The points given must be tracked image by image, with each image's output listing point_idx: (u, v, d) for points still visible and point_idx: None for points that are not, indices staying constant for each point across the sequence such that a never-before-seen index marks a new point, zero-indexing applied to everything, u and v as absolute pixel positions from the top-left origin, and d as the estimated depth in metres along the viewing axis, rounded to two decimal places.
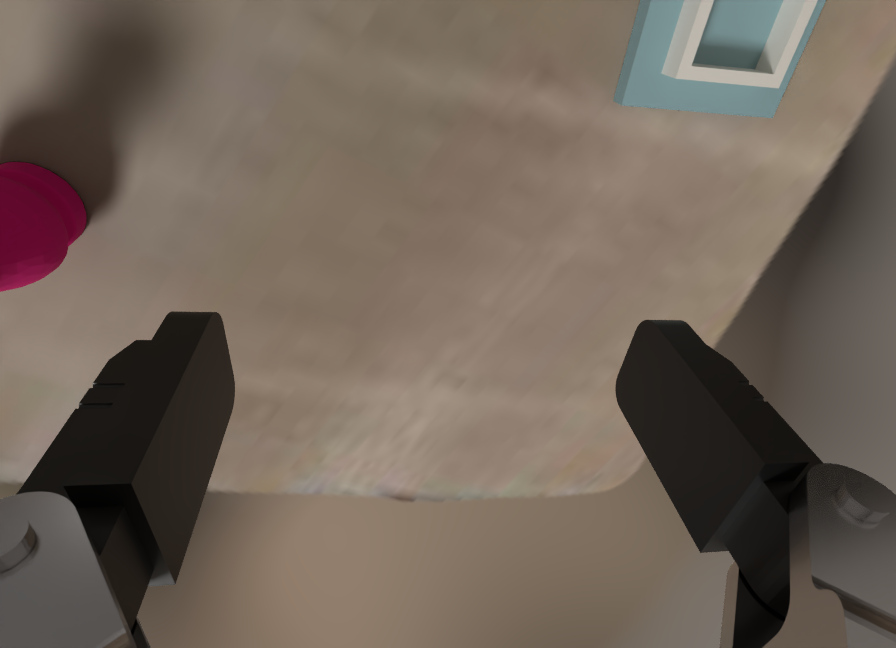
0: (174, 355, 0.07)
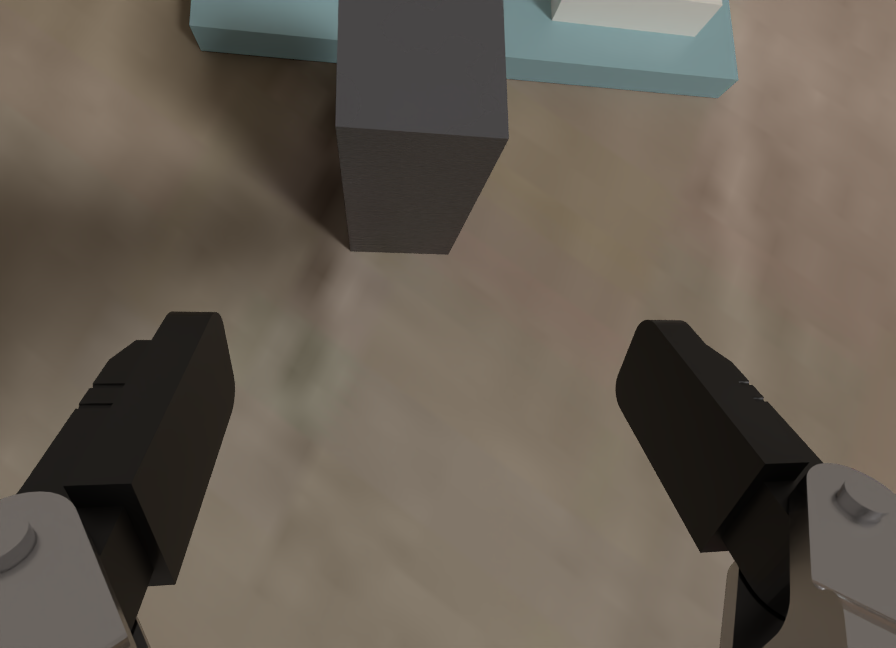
0: (174, 355, 0.07)
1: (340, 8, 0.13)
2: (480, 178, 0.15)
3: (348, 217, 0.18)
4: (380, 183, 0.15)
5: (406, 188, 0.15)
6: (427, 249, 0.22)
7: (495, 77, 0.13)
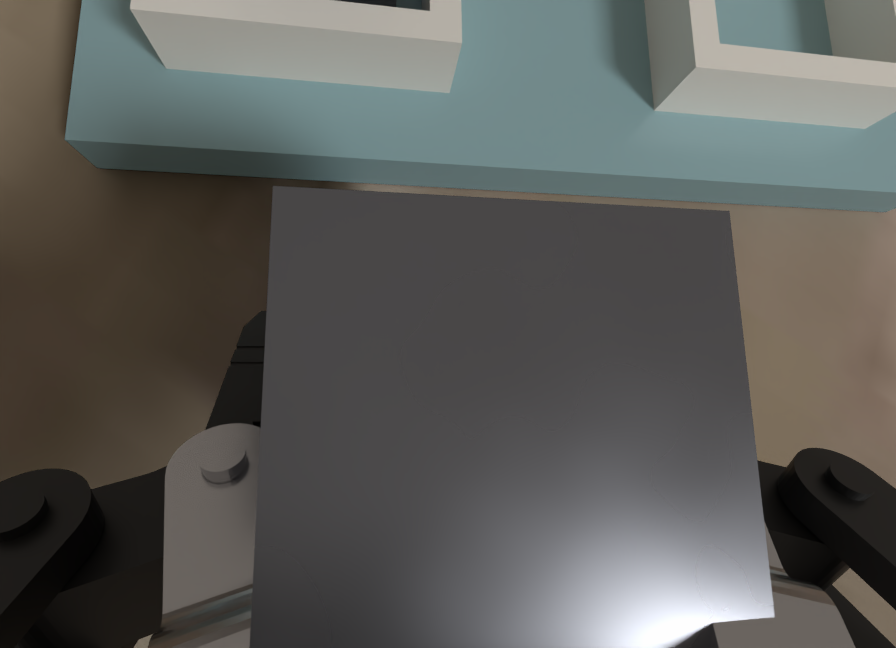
0: None
1: (273, 313, 0.04)
2: None
3: None
4: None
5: None
6: None
7: (731, 488, 0.04)
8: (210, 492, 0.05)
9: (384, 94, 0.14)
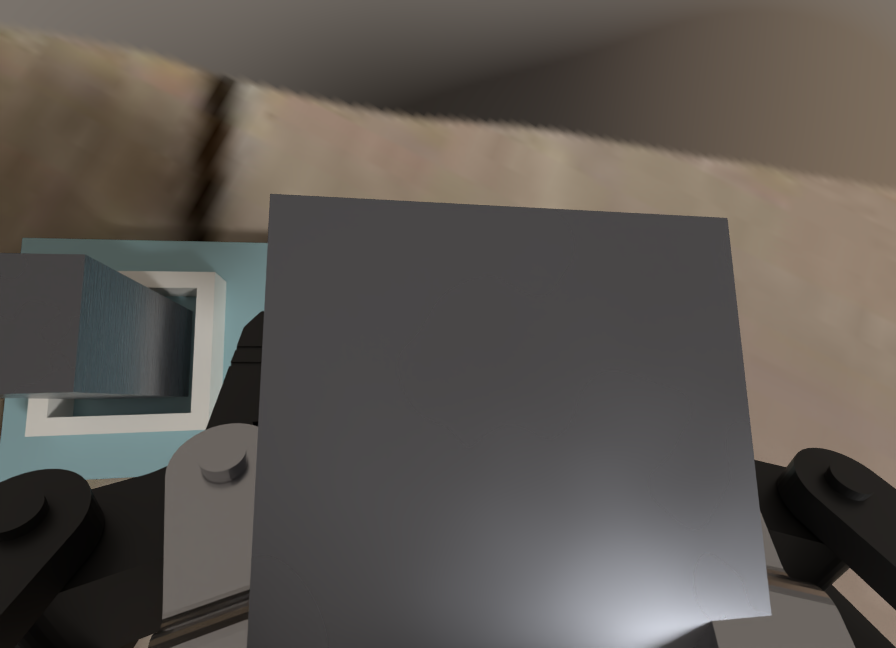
0: None
1: (270, 322, 0.04)
2: None
3: None
4: None
5: None
6: None
7: (728, 495, 0.04)
8: (210, 492, 0.05)
9: (181, 433, 0.24)
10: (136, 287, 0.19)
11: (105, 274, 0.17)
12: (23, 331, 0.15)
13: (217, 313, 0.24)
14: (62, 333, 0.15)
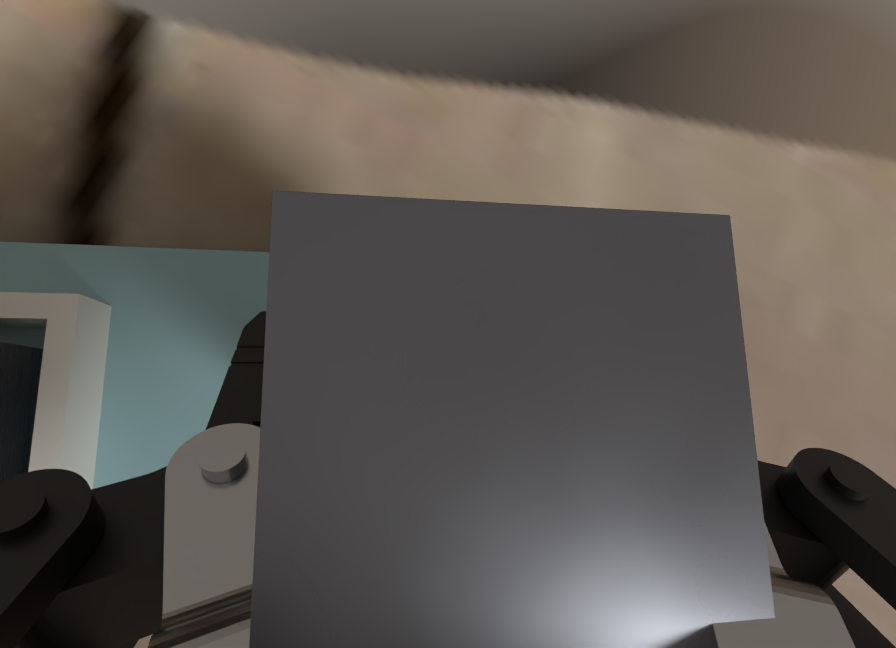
0: None
1: (272, 319, 0.04)
2: None
3: None
4: None
5: None
6: None
7: (731, 493, 0.04)
8: (211, 492, 0.05)
9: None
10: None
11: None
12: None
13: (85, 357, 0.16)
14: None
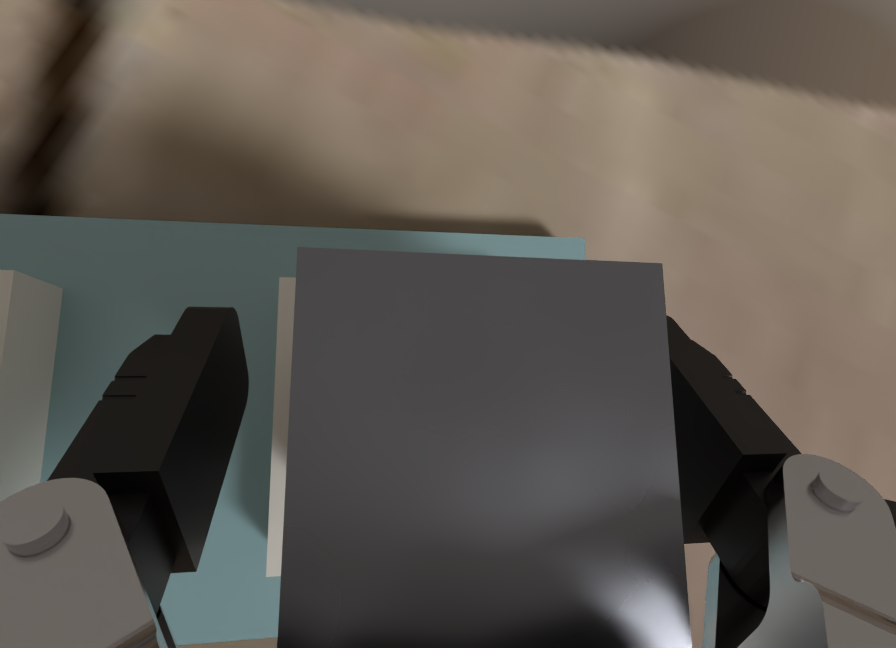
0: (194, 348, 0.07)
1: (297, 348, 0.05)
2: None
3: None
4: None
5: None
6: None
7: (655, 486, 0.06)
8: (7, 568, 0.04)
9: None
10: None
11: None
12: None
13: (24, 349, 0.13)
14: None
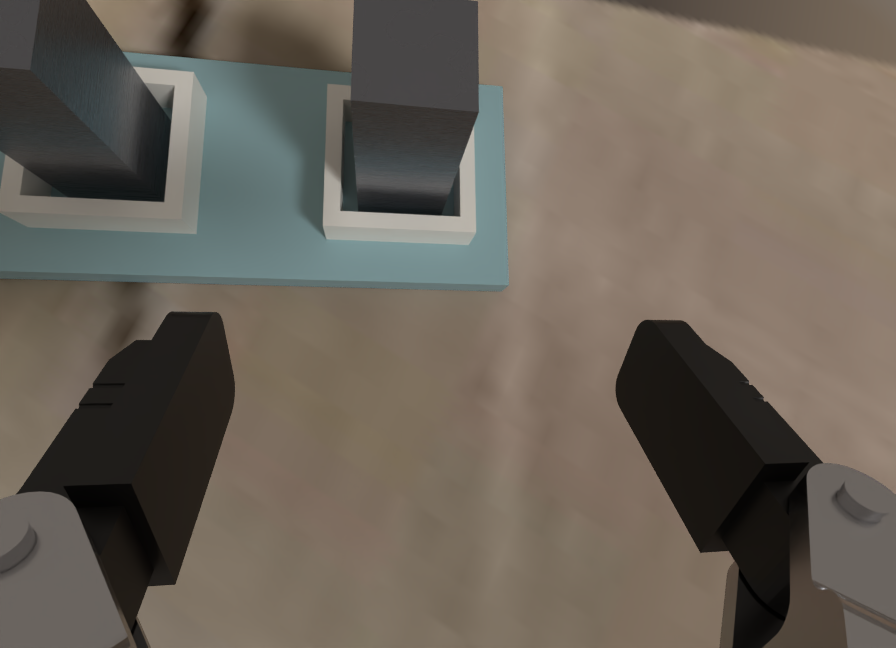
0: (174, 355, 0.07)
1: (355, 13, 0.17)
2: (460, 145, 0.19)
3: (357, 180, 0.22)
4: (383, 149, 0.19)
5: (403, 153, 0.20)
6: (422, 213, 0.26)
7: (470, 66, 0.17)
8: None
9: (156, 236, 0.24)
10: (106, 35, 0.19)
11: None
12: None
13: (196, 116, 0.24)
14: (21, 15, 0.15)
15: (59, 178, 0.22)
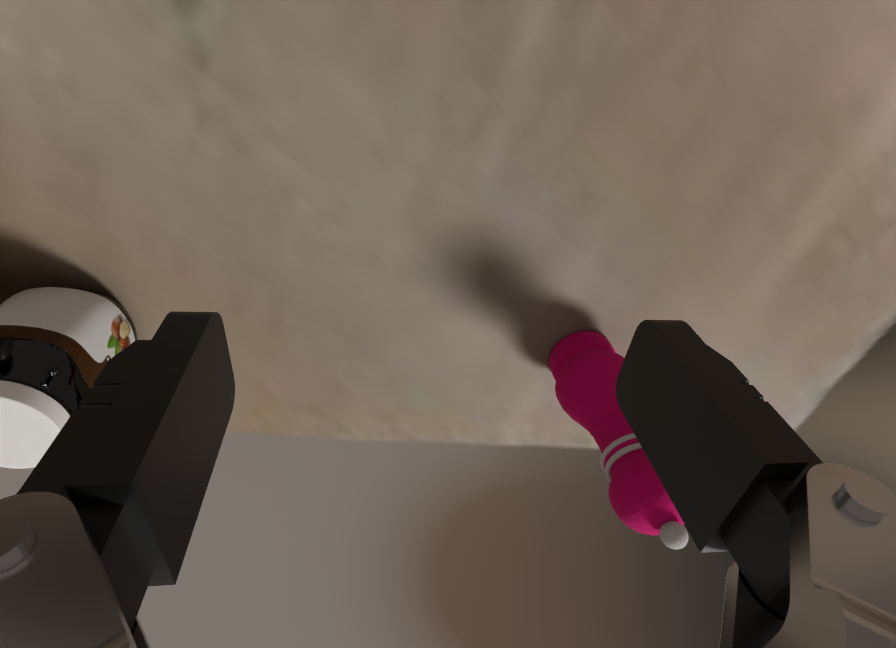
0: (174, 355, 0.07)
1: None
2: None
3: None
4: None
5: None
6: None
7: None
8: None
9: None
10: None
11: None
12: None
13: None
14: None
15: None
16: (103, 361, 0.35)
